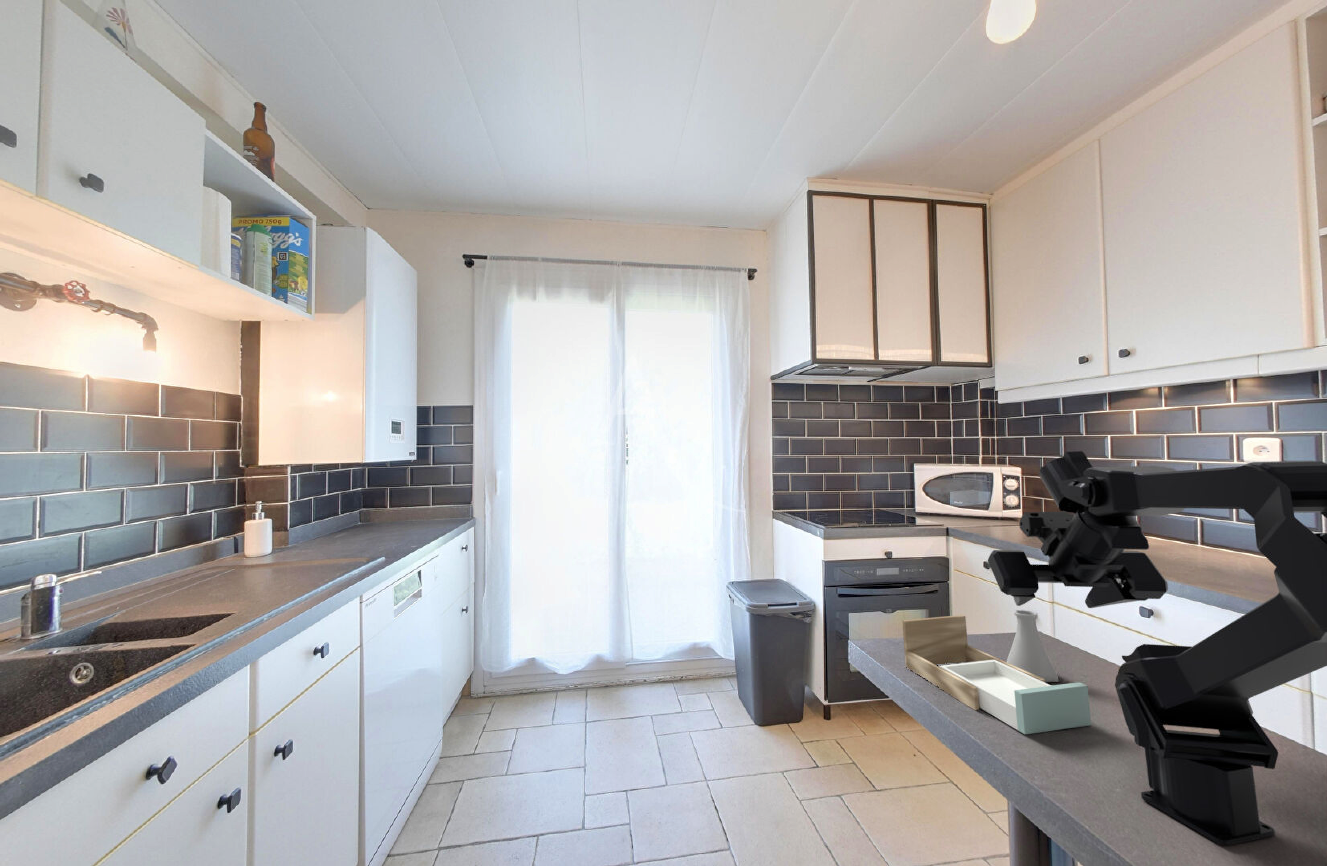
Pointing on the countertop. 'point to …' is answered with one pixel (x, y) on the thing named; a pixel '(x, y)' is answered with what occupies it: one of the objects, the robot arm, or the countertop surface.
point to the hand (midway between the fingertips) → (1051, 603)
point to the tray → (1025, 697)
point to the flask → (1030, 648)
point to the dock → (944, 654)
